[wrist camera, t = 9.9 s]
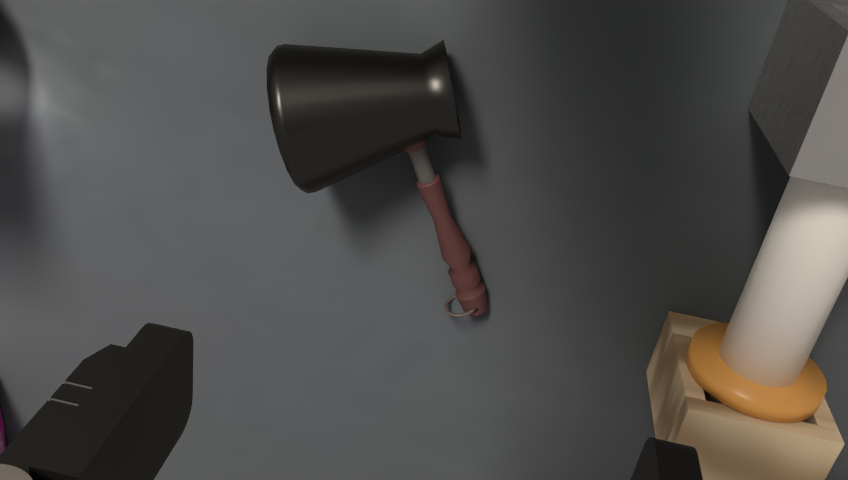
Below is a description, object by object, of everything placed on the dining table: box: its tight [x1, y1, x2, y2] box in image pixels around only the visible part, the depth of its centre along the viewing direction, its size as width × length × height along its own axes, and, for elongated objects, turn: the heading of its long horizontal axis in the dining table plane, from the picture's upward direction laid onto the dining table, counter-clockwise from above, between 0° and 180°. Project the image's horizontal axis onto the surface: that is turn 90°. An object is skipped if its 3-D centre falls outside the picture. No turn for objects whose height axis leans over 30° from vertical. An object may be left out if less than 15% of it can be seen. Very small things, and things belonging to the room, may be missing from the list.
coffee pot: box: [267, 40, 487, 317], centre depth 43 cm, size 8×18×8 cm
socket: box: [646, 311, 844, 480], centre depth 43 cm, size 4×8×9 cm, turn 81°
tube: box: [686, 176, 848, 423], centre depth 38 cm, size 18×7×7 cm, turn 171°
